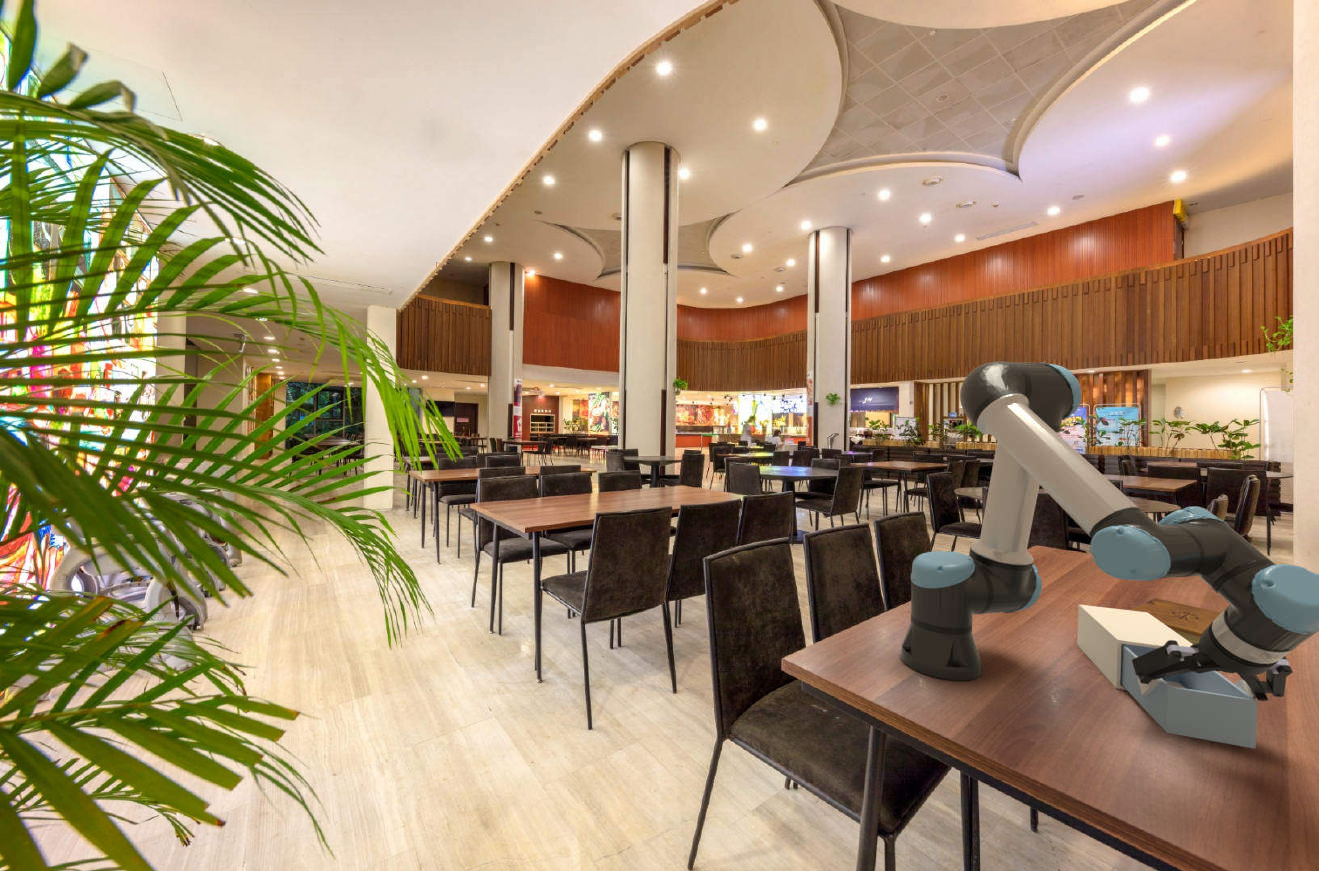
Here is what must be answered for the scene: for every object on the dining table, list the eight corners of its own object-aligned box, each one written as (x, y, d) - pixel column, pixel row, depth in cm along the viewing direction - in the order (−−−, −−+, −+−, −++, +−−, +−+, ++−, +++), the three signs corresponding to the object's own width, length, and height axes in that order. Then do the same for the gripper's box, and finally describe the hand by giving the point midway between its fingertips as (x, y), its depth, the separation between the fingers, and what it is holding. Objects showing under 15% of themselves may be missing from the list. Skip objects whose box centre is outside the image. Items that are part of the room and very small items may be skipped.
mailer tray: (1255, 748, 82) (1257, 701, 82) (1166, 732, 87) (1168, 686, 86) (1181, 684, 103) (1182, 646, 102) (1112, 673, 107) (1113, 637, 107)
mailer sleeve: (1201, 702, 98) (1203, 651, 98) (1116, 688, 103) (1117, 639, 103) (1146, 654, 118) (1147, 612, 118) (1077, 644, 123) (1078, 604, 123)
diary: (1150, 618, 143) (1151, 597, 143) (1252, 643, 127) (1253, 619, 127) (1117, 634, 131) (1117, 611, 131) (1224, 664, 115) (1225, 638, 115)
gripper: (1151, 650, 79) (1106, 702, 94) (1375, 681, 70) (1287, 733, 85) (1136, 604, 84) (1096, 660, 98) (1344, 628, 75) (1266, 685, 90)
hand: (1184, 694), depth 92 cm, fingers closed on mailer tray, 11 cm apart
